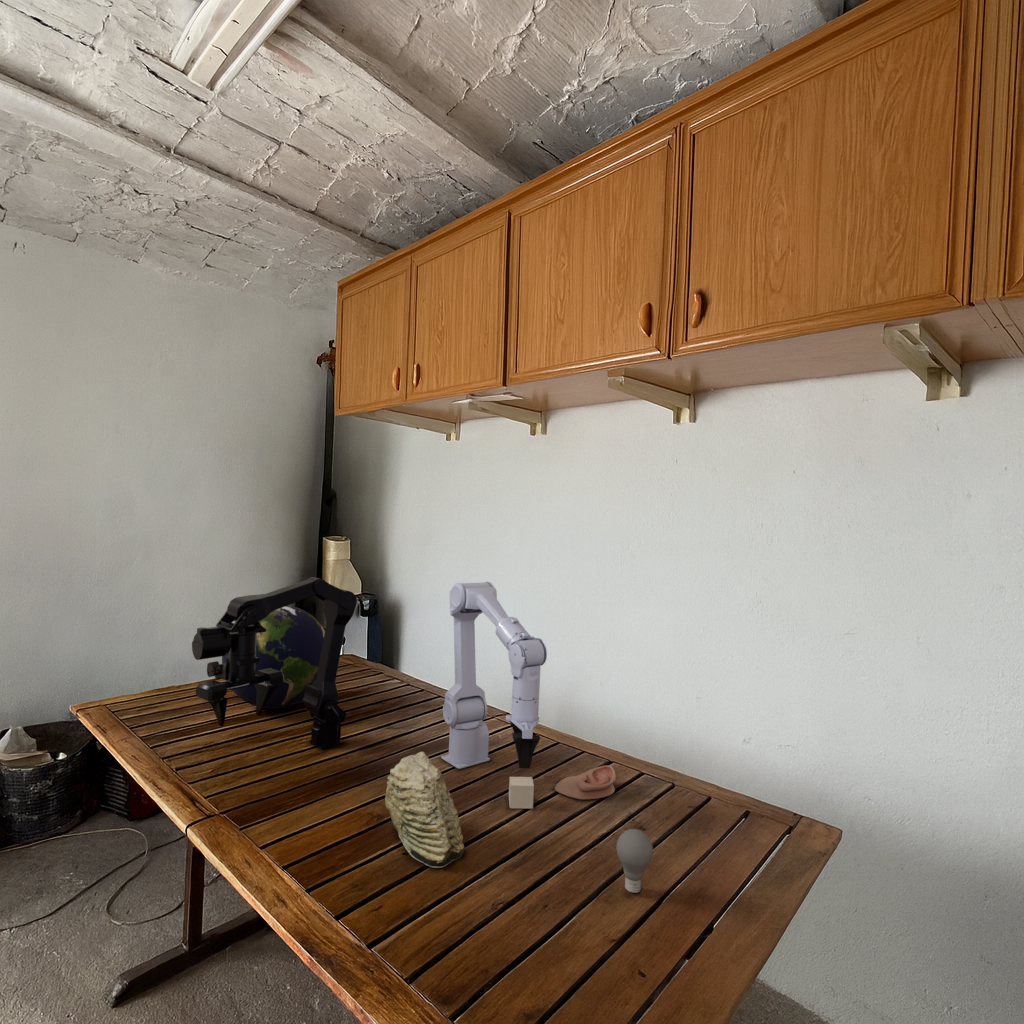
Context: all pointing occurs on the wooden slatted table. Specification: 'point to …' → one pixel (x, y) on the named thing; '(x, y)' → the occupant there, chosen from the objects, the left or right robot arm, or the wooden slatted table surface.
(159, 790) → the wooden slatted table surface
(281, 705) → the globe
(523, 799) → the beige cube
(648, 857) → the light bulb
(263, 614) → the left robot arm
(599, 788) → the anatomical model
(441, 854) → the fossil
